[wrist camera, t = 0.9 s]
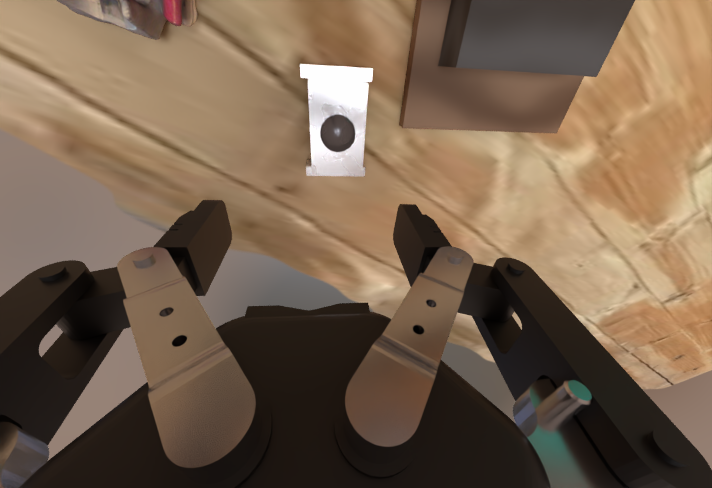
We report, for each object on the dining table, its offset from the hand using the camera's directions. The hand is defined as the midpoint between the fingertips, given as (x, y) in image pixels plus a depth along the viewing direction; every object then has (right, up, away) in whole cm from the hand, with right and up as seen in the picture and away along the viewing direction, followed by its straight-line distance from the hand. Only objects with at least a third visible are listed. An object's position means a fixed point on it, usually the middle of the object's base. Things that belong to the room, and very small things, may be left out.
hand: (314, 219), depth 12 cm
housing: (0, +12, +15) cm, 19 cm away
